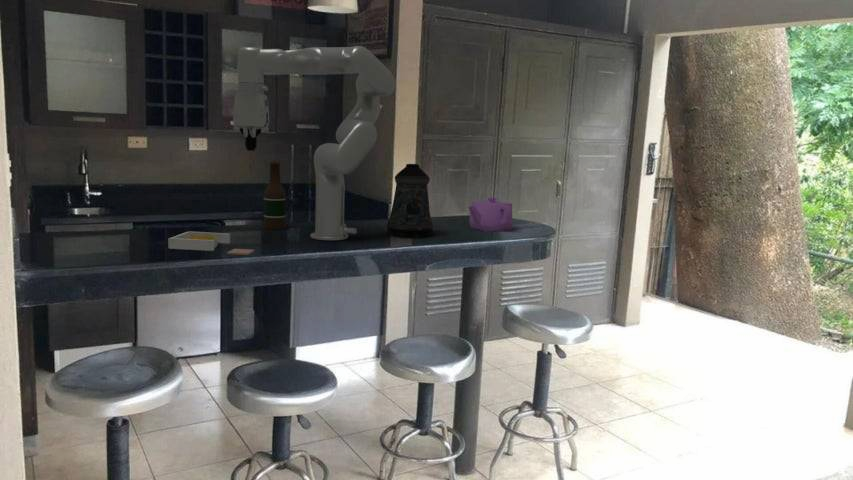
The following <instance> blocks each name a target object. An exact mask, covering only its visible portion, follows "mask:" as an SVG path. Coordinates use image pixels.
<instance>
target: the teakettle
mask: <svg viewBox="0 0 853 480" xmlns="http://www.w3.org/2000/svg"><path fill="white" fill-rule="evenodd" d="M468 209H469V212H470V214H469V226H470V227H469V228H471V229H475V230H479V231H485V232H493V233H494V232H504V231H505V232H506V231H508V232H509V231H511V229H512V228H513V203H509V202H505V201H499V200H497V197H495V196H494V197H493V196H489V197H487V200H474V201H471V205H470V206H468Z"/></svg>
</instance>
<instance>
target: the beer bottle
mask: <svg viewBox="0 0 853 480" xmlns="http://www.w3.org/2000/svg"><path fill="white" fill-rule="evenodd" d="M280 166H281V162H280V161H276V160H275V161H273V160H272V161H270V162H269V178H268V179H269V180H268V184H267V186H266V188H265V189H264V192H263V228H264V229H265V230H266V231H267V230H268V231H282V229H283V230H285V229H286V226H287V225H286V224H287V221H286V220H287V201H286V200H287V195H286V191H285V188H284V187H283V185H282V184H281V183H282V181H281V171H280V170H281V168H280Z"/></svg>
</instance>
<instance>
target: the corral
mask: <svg viewBox="0 0 853 480" xmlns="http://www.w3.org/2000/svg"><path fill="white" fill-rule="evenodd" d="M206 234H207V235H211V236H213V237H214V238H215V239H216V240H217V242H218V244H228V245H229V244H231V233H226V232H223V233H222V232H205V231H186V232H183V233H180V234H177V235H175V236H172V237H169V238H168V239H167V240H168V242H167V243H168V249H171V250H173V249H174V250H186V251H187V250H190V251H209V252H210V251H211V252H214V251H215V248H214V240H199V239H188V238H189V237H190V236H193V235H202V236H203V235H206Z"/></svg>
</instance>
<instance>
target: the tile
mask: <svg viewBox="0 0 853 480" xmlns="http://www.w3.org/2000/svg"><path fill="white" fill-rule="evenodd" d="M254 252H255V249H249V248H248V249H247V248H233V249H231V250H229V251H228V252H226V254H227V255H239V256H240V255H241V256H244V255H245V256H249V255H251V254H252V253H254Z"/></svg>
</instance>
